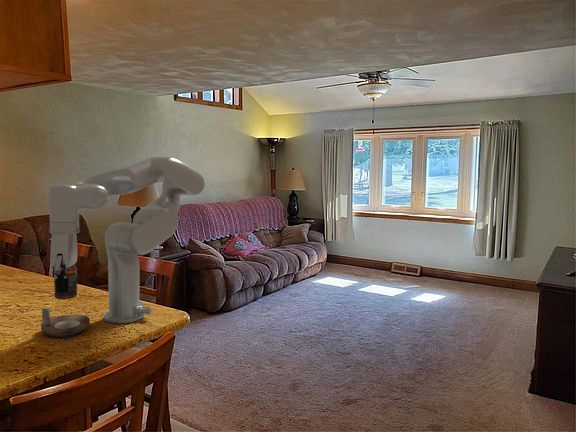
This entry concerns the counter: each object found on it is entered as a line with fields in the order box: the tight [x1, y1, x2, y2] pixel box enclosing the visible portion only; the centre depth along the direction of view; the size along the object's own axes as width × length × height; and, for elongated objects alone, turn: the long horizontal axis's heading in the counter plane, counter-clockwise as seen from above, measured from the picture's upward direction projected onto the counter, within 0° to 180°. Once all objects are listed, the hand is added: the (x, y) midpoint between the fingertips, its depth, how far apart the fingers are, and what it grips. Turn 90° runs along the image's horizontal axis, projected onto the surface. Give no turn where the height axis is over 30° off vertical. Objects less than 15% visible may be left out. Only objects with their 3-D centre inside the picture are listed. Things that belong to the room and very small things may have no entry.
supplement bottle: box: [53, 265, 78, 300], centre depth 128 cm, size 6×6×11 cm
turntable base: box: [46, 329, 85, 343], centre depth 131 cm, size 10×13×1 cm
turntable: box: [40, 307, 91, 334], centre depth 132 cm, size 13×13×6 cm
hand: (65, 288), depth 129 cm, fingers closed on supplement bottle, 6 cm apart
